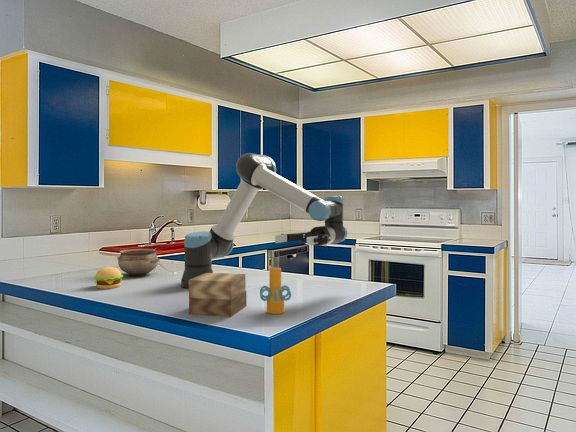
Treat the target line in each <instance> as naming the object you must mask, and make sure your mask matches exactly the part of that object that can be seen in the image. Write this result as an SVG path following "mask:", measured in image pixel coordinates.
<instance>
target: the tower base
mask: <svg viewBox="0 0 576 432" xmlns="http://www.w3.org/2000/svg"><path fill="white" fill-rule="evenodd" d="M246 307H248V306H247V290H246V291H244V292H243V293H241V294H240V295H238V296H237V297H235V298H233V299H232V300H225V299H203V298H189V297H188V311H189V312H188V315H196V316H197V315H198V316H211V317H226V318H228V317H230V318H232V317H233V316H235V315H236V314H237V313H239V312H241V311H242V310H243V309H245V308H246Z"/></svg>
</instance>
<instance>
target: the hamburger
mask: <svg viewBox="0 0 576 432" xmlns="http://www.w3.org/2000/svg"><path fill="white" fill-rule="evenodd" d="M123 277H124V274H122V272H121V271H120V269H118V268H117V267H113V266H106V267H102V268H99V270H97V272H96V273H95V276H94V277H93V279H94V284H95V287H96V288H97V289H102V290H110V289H115V288H119V287H120V286H121V285H122V282H123V279H122V278H123Z"/></svg>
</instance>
